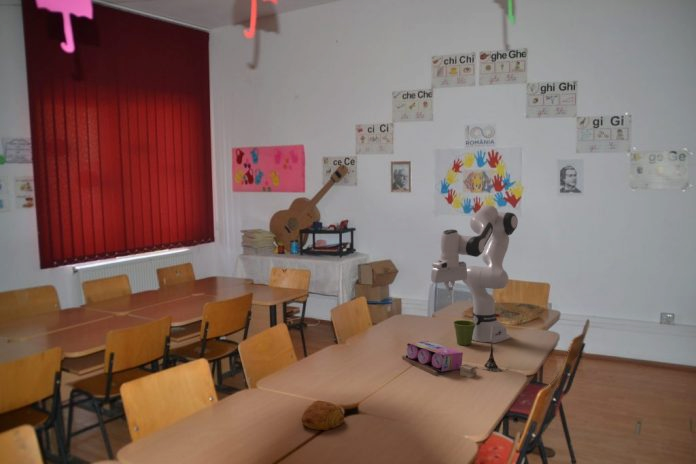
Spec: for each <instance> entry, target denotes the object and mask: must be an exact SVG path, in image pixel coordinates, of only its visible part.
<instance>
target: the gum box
mask: <svg viewBox="0 0 696 464" xmlns="http://www.w3.org/2000/svg"><path fill="white" fill-rule="evenodd" d="M406 346H407V347H406V355H405V356H406V358H407V359H409V360H411V361H414V362H417V363H420V364H423V365H426V366H429V367H431V368H434V369H436V370H439V371H441V372H442V371H449V370H456V369H457V370H460V366H462V364H463V355H464V352H463V351H459V350H456V349H454V348H451V347H448V346H443V345H441V344H439V343H435V342H432V341H428V340H422V341H416V342H414V341H413V342H407V344H406Z"/></svg>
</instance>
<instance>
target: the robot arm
mask: <svg viewBox="0 0 696 464" xmlns="http://www.w3.org/2000/svg"><path fill="white" fill-rule="evenodd" d="M518 222H519V221H518V217H517V216H516V214H515V213H513V212H502V211H501V212H498V209H497V208H496V207H495V206H493V205H489V204H488V205H485V206H483V207H481V208H479V209H478V210H477V211H476V212H475V213H474V214H473V215H472V216H471V218H470V220H469V226H470V228H471V230H472V231H473V232H474V234H475V233H476V235H474V236H472V235H462V234H459V232H458V230H457V229H447V230H444V231H443V232H442V233H441V238H440V239H441V240H440V250H441V254H440V258H439V259H437V260H435V261H433V262H432V264H431V266H432V267H431V268H432V269H431V273H430V278H431V279H430V280H431V282H432V283H434V284H441V283H444V286H445V290H446V291H447V292H449V291H453V290H454V286H455V284H456V282H458V281H462V283H463V284H465V286H466V287H467V288H468V289H469V292H470V293H471V296H472V302H473V303H472V305H473V306H472V307H473V311H472V321H473V322H475V323H476V325H475V328H474V331H473V336H472V341H475V342H479V343H481V342H482V343H491V342H492V343H493V344H497V343H499V342H503V341H506V340H509V339H511V338H512V336H511V335H510V334H509V333H507V327H506V325H504V324H503V323H502V322H501V321H499V320H498V318H501V317H502V316H501V313H498V312H497V313H496V312H495V309H496V308H495V303H496V301H495V298H494V296H493V295H491V294H490V293H488V291H487V289H492V290H499V289H500V290H501V289H505V288H506V286H507V285H508V283H509V274H508V273H507V272H506V270H505V269H504V267H503V263H504V260H505V259H504V258H505V257H506V253H507V251H508V248H509V243H510V236H511V235H512V234H513V233H514V232H515V230H516V229H517V228H518V224H519V223H518ZM477 234H478V235H477ZM459 255H461V256H471V257H475V258H478V257H479V256H481V255H482V257H481V258H482V261H483V263H485V264H486V265H487V266H475V265H473V266H472V265H471V266H467V263H466V262H465V261H460V258H459Z"/></svg>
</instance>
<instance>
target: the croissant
mask: <svg viewBox="0 0 696 464" xmlns="http://www.w3.org/2000/svg"><path fill="white" fill-rule="evenodd" d="M300 421H301V424H302V425H304V426H305V427H307V428H308V429H312V430H315V431H316V430H317V431H321V430H322V431H328V430H331V428H332V429H333V428H335V427H338V426H340V425H342V424H343V423H344V421H345V415H344V412H343V410H342V408H341V407H340V406H338V405H336V404H335V403H333V402H329V401H323V400H319V399H318V400H315V401H313V403H311V404H309V405H307V406H306V407H305V409H304V411H303V414H302V417H301V420H300Z"/></svg>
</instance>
